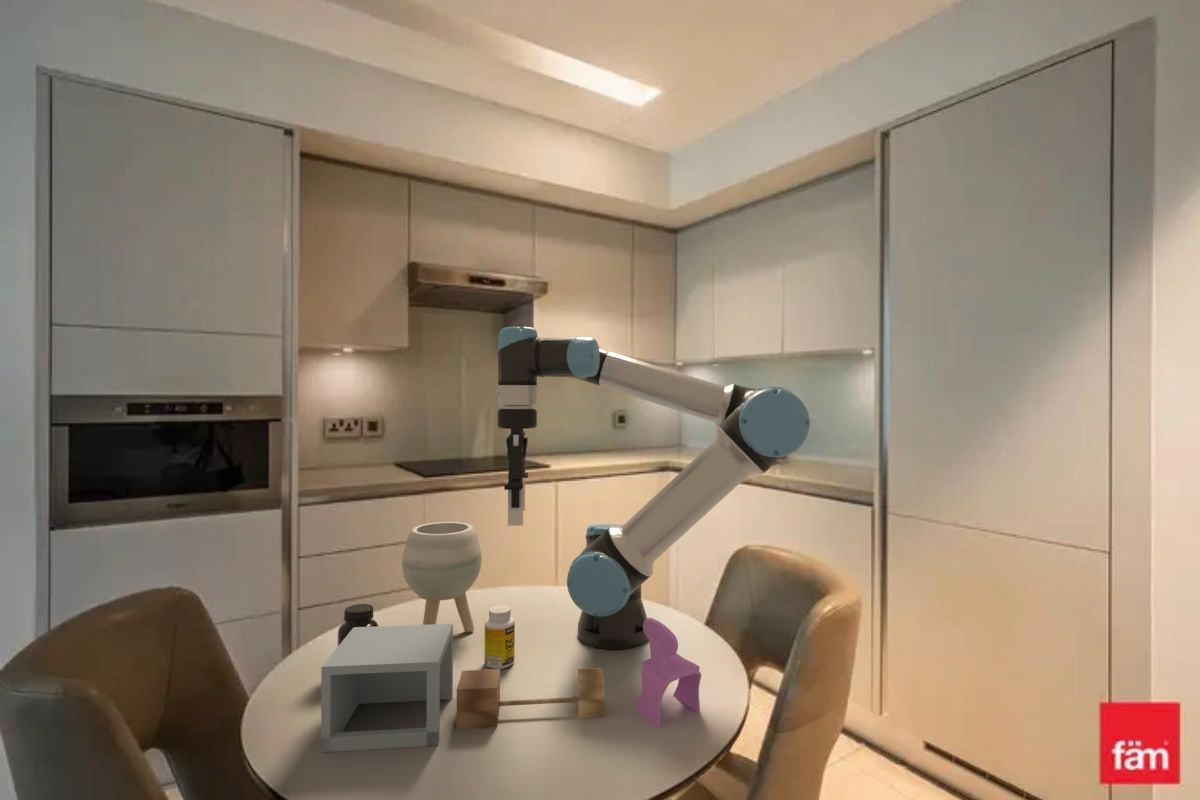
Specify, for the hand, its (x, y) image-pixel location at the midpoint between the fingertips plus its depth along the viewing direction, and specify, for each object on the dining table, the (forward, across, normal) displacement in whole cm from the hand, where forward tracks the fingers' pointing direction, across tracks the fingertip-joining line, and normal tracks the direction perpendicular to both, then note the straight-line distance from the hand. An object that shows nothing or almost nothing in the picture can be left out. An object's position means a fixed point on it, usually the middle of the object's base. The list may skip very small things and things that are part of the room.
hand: (516, 517), depth 111 cm
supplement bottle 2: (+27, +3, -3) cm, 27 cm away
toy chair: (+27, +22, +25) cm, 43 cm away
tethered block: (+27, +21, +3) cm, 34 cm away
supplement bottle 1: (+27, +5, -28) cm, 39 cm away
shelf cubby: (+27, +21, -18) cm, 38 cm away
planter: (+27, -12, -16) cm, 34 cm away
